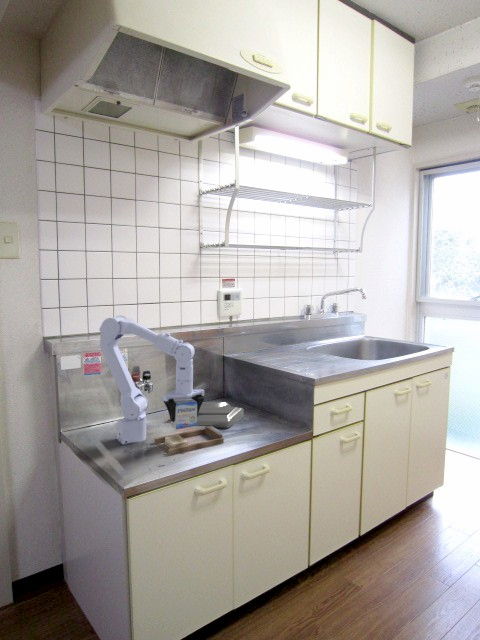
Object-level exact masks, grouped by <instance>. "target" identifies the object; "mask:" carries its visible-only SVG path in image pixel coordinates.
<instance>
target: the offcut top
mask: <svg viewBox="0 0 480 640" xmlns="http://www.w3.org/2000/svg"><path fill="white" fill-rule="evenodd" d="M164 445H165V446H167V445H168V446H169V447H170V448H171V449H172V448H177V447H181V446H186V445H189V444H188V441H187V439H185V438H182V437H181V436H179V435H176V436H170V437H165V442H164ZM168 446H167V447H168ZM169 447H168V448H169ZM170 448H169V449H170Z"/></svg>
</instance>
